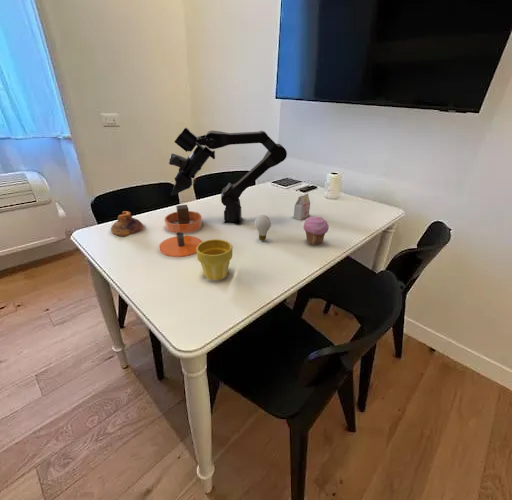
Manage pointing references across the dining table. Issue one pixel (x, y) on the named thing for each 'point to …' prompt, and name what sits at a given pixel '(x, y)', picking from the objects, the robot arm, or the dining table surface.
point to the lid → (179, 245)
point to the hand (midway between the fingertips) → (173, 190)
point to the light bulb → (262, 226)
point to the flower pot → (214, 258)
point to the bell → (126, 225)
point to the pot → (183, 227)
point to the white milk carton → (302, 207)
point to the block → (183, 214)
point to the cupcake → (315, 229)
